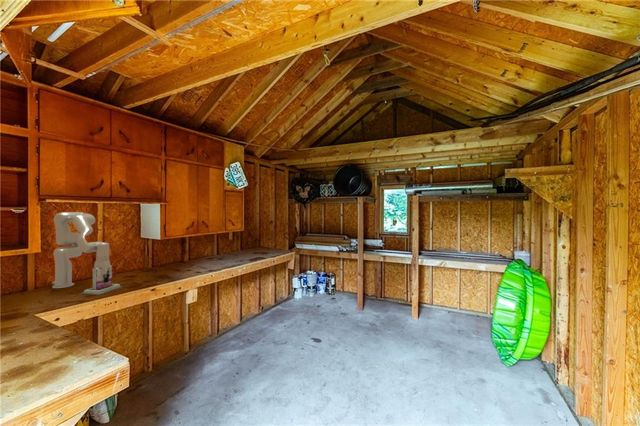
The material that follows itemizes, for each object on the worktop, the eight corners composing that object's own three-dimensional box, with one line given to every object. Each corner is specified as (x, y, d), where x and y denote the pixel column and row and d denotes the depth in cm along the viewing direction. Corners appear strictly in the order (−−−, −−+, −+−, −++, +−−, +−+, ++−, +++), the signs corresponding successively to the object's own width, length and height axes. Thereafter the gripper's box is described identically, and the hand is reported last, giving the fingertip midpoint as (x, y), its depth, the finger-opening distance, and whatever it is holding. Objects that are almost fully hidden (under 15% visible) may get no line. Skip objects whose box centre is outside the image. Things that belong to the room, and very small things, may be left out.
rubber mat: (80, 294, 191) (80, 293, 191) (104, 286, 211) (104, 285, 211) (100, 295, 190) (100, 294, 190) (123, 287, 210) (123, 286, 210)
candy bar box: (108, 285, 207) (108, 265, 206) (112, 286, 205) (112, 265, 205) (91, 289, 196) (92, 268, 196) (96, 290, 194) (96, 268, 194)
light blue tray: (83, 293, 192) (83, 290, 192) (105, 285, 210) (106, 283, 210) (98, 293, 191) (98, 291, 191) (119, 286, 209) (119, 284, 209)
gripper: (87, 259, 197) (87, 282, 197) (108, 260, 196) (108, 284, 196) (97, 257, 205) (96, 280, 205) (117, 258, 203) (117, 281, 203)
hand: (102, 281), depth 200 cm, fingers closed on candy bar box, 5 cm apart
